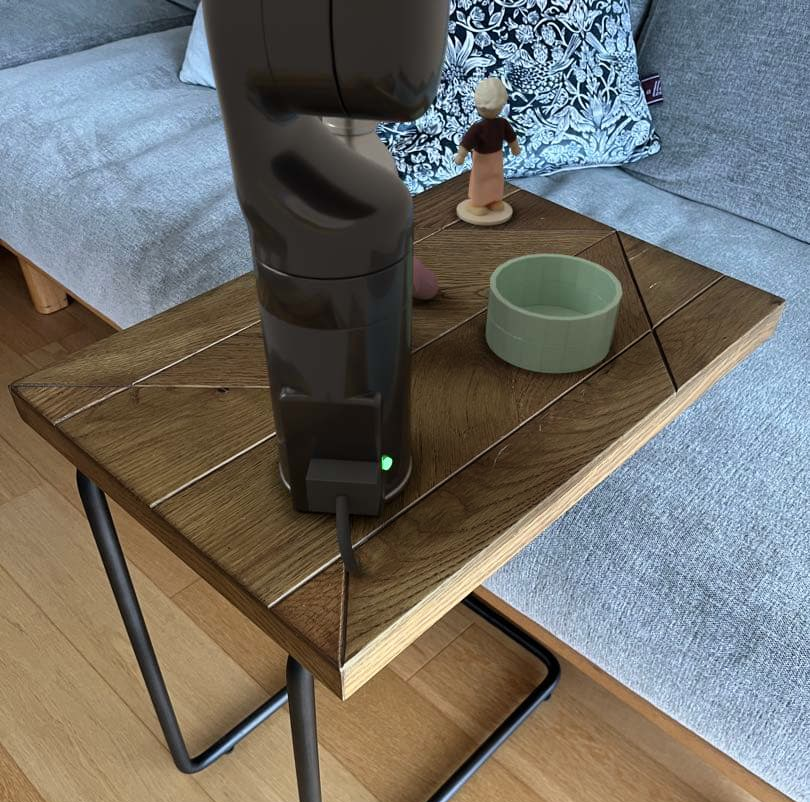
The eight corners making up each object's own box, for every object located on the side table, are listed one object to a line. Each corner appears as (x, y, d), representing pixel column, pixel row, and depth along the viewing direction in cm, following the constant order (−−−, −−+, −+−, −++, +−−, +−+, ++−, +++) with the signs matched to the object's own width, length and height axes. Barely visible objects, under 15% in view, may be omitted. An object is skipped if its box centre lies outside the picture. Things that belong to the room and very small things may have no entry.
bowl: (616, 377, 67) (628, 323, 63) (484, 369, 67) (489, 315, 64) (605, 308, 74) (615, 256, 71) (486, 302, 75) (491, 250, 71)
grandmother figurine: (494, 193, 90) (505, 66, 81) (519, 205, 88) (533, 76, 79) (443, 213, 87) (448, 82, 77) (467, 225, 85) (476, 92, 75)
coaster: (512, 226, 85) (512, 223, 85) (455, 224, 86) (455, 220, 85) (512, 202, 90) (512, 198, 89) (457, 199, 90) (457, 196, 90)
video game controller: (332, 301, 78) (309, 252, 71) (353, 262, 79) (332, 211, 72) (424, 327, 74) (409, 279, 68) (445, 287, 76) (432, 236, 69)
